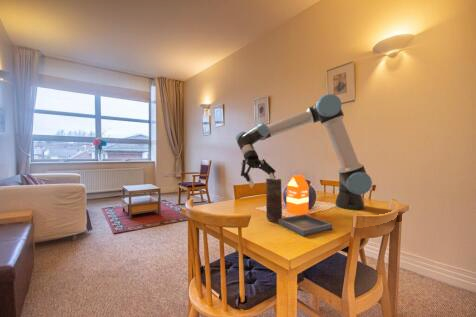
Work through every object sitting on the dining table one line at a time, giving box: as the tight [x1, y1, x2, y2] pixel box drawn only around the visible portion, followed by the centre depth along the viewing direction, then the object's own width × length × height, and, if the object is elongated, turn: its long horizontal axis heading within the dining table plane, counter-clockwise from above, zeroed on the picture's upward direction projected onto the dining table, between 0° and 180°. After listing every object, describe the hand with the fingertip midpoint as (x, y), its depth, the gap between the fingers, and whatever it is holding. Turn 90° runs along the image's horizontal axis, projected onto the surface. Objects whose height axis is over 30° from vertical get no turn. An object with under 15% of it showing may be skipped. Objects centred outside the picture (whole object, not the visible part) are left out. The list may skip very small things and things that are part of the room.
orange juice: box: [286, 174, 310, 216], centre depth 119 cm, size 8×9×20 cm
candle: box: [265, 178, 283, 223], centre depth 107 cm, size 8×7×20 cm
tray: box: [277, 213, 333, 237], centre depth 98 cm, size 16×16×2 cm
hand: (264, 185), depth 113 cm, fingers open, 13 cm apart
